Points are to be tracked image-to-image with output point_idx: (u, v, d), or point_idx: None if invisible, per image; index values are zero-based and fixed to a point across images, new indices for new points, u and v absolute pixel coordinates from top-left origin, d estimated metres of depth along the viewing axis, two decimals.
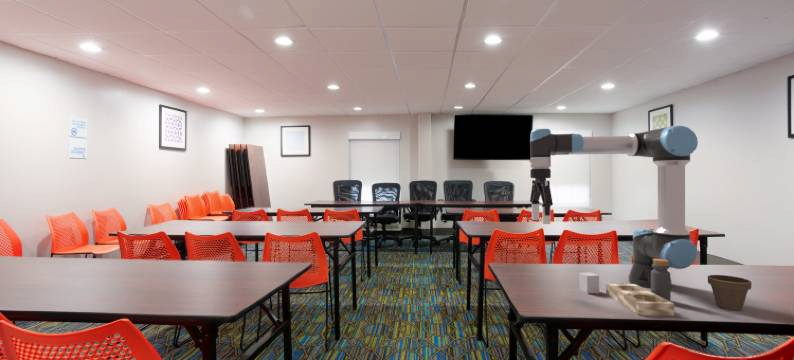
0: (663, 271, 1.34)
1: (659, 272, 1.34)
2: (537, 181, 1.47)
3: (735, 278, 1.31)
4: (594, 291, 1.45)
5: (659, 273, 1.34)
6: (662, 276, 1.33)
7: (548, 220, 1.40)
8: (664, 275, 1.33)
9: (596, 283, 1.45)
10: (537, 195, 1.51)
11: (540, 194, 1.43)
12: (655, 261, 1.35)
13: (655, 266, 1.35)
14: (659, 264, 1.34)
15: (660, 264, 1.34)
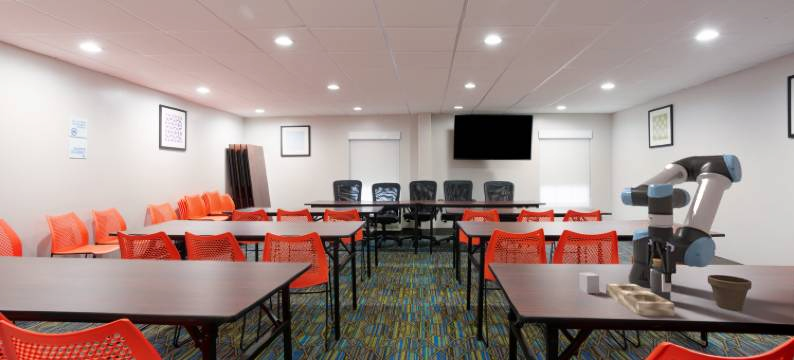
0: None
1: (659, 272, 1.34)
2: (656, 240, 1.36)
3: (735, 278, 1.31)
4: (594, 291, 1.45)
5: (659, 273, 1.34)
6: None
7: (668, 288, 1.32)
8: None
9: (596, 283, 1.45)
10: (657, 256, 1.38)
11: (660, 256, 1.34)
12: (655, 261, 1.35)
13: (655, 266, 1.35)
14: (659, 264, 1.34)
15: (660, 264, 1.34)
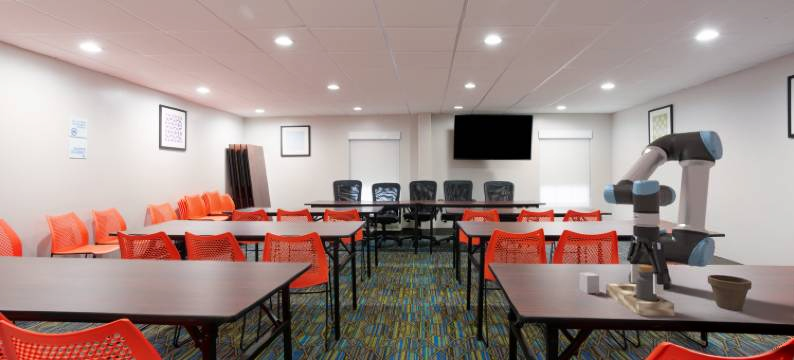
0: (649, 278, 1.25)
1: (644, 279, 1.25)
2: (642, 240, 1.27)
3: (735, 278, 1.31)
4: (594, 291, 1.45)
5: (645, 280, 1.25)
6: (648, 283, 1.25)
7: (661, 289, 1.20)
8: (650, 282, 1.24)
9: (596, 283, 1.45)
10: (639, 255, 1.31)
11: (648, 257, 1.24)
12: (640, 267, 1.27)
13: (640, 272, 1.26)
14: (644, 270, 1.26)
15: (645, 270, 1.25)
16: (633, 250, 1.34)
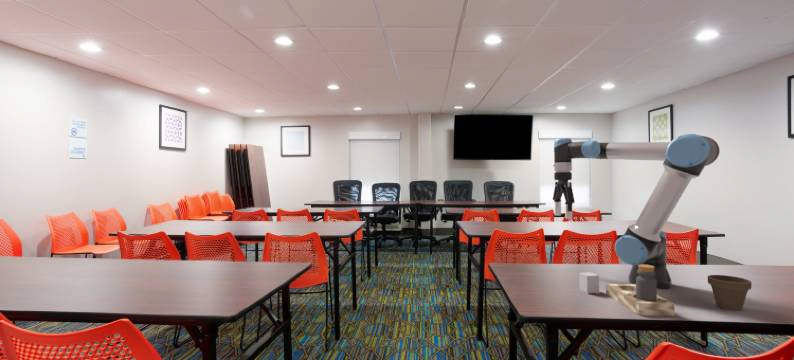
0: (649, 278, 1.25)
1: (644, 279, 1.25)
2: (560, 182, 1.74)
3: (735, 278, 1.31)
4: (594, 291, 1.45)
5: (645, 280, 1.25)
6: (648, 283, 1.25)
7: (570, 215, 1.67)
8: (650, 282, 1.24)
9: (596, 283, 1.45)
10: (560, 194, 1.78)
11: (563, 193, 1.70)
12: (640, 267, 1.27)
13: (640, 272, 1.26)
14: (644, 270, 1.26)
15: (645, 270, 1.25)
16: (556, 192, 1.81)
